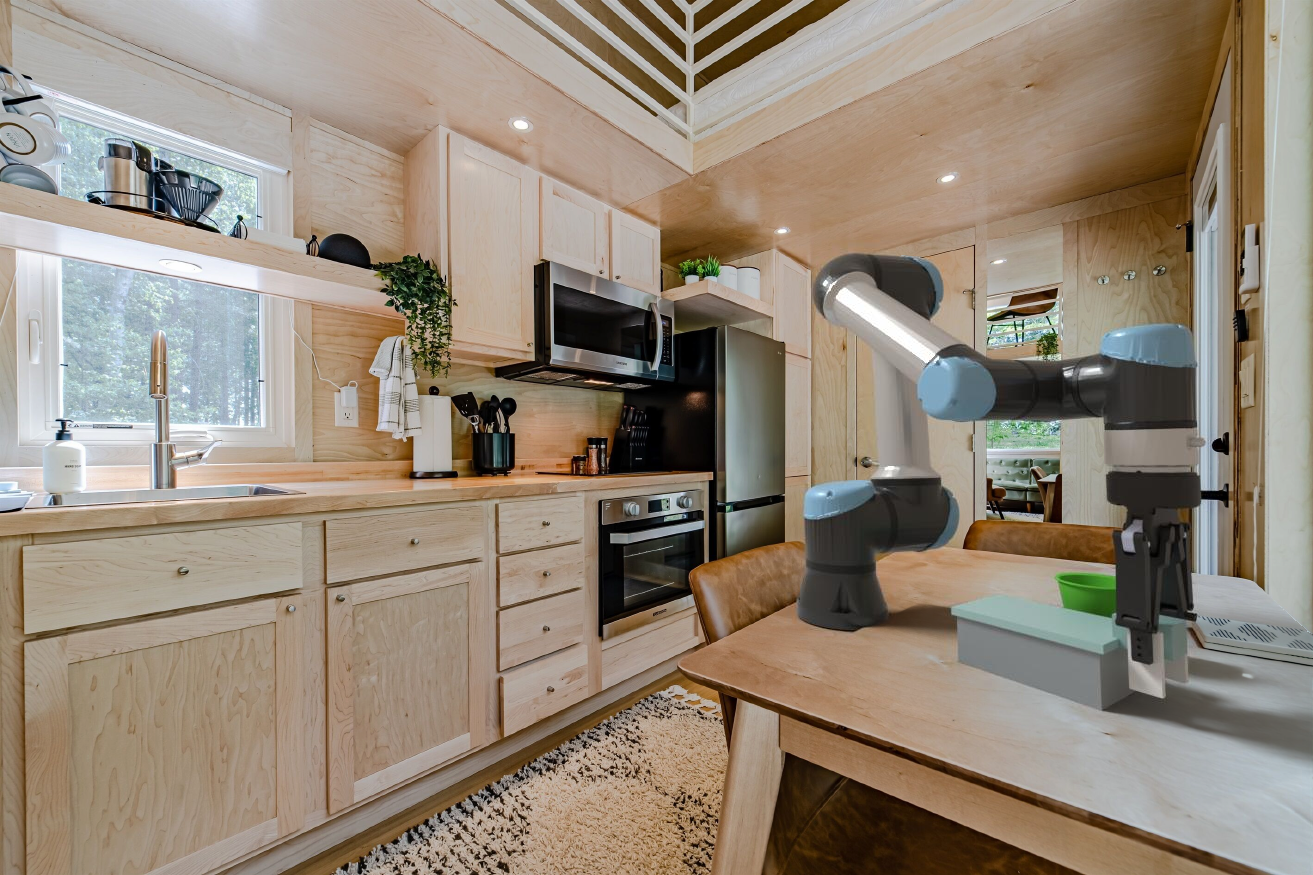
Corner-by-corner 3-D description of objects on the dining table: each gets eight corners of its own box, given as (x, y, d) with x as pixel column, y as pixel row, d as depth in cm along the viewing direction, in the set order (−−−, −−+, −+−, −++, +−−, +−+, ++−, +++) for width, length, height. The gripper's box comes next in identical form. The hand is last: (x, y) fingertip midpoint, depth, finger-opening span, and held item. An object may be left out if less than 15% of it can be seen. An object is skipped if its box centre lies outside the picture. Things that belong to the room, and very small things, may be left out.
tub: (958, 667, 71) (956, 614, 71) (1001, 651, 76) (1000, 602, 77) (1101, 717, 58) (1099, 652, 58) (1142, 693, 63) (1140, 633, 63)
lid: (951, 621, 71) (950, 587, 72) (998, 607, 77) (997, 576, 77) (1159, 679, 53) (1157, 633, 53) (1200, 655, 59) (1198, 614, 59)
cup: (1162, 678, 67) (1158, 589, 67) (1079, 673, 69) (1076, 587, 69) (1116, 651, 76) (1113, 573, 76) (1043, 647, 78) (1041, 571, 78)
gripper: (1162, 473, 50) (1172, 724, 50) (1228, 467, 59) (1237, 677, 59) (1068, 471, 57) (1076, 692, 56) (1141, 466, 66) (1149, 655, 65)
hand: (1159, 684), depth 58 cm, fingers open, 6 cm apart
